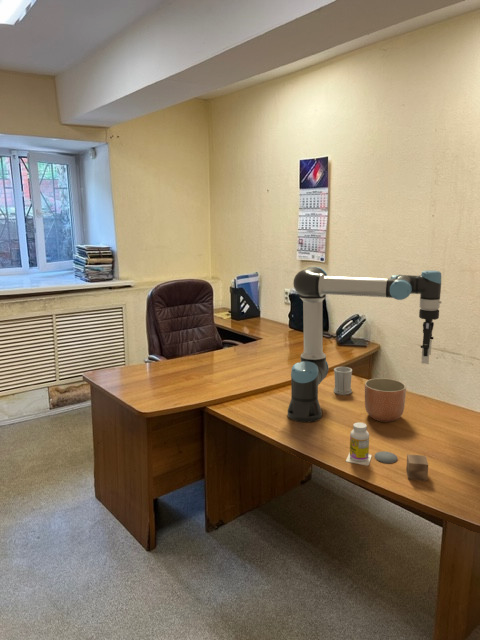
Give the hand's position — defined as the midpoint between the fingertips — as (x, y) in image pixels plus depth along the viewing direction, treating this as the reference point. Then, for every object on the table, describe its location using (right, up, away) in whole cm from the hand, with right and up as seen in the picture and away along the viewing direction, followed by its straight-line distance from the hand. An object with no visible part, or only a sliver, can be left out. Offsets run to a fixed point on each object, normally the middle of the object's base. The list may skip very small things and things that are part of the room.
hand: (426, 358), depth 194 cm
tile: (-34, -34, -24) cm, 54 cm away
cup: (-26, -20, +41) cm, 53 cm away
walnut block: (-18, -37, -36) cm, 54 cm away
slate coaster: (-24, -34, -24) cm, 48 cm away
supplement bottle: (-34, -34, -24) cm, 54 cm away
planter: (-15, -27, +10) cm, 32 cm away
